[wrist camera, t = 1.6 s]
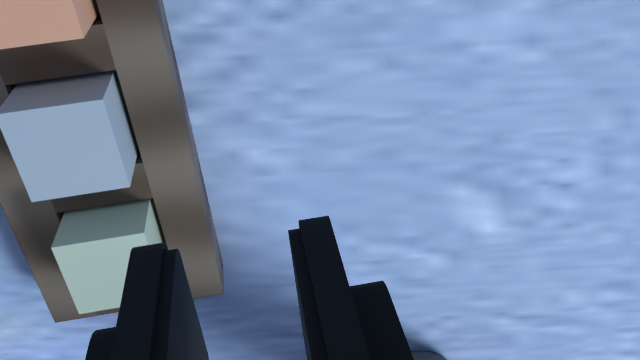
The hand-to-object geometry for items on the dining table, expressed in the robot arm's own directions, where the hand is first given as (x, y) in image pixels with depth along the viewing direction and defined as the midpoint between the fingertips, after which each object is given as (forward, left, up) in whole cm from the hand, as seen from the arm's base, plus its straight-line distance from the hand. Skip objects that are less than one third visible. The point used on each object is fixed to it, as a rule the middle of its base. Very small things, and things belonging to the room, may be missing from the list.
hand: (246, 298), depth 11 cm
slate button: (+6, -9, -24) cm, 26 cm away
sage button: (+14, -9, -24) cm, 29 cm away
